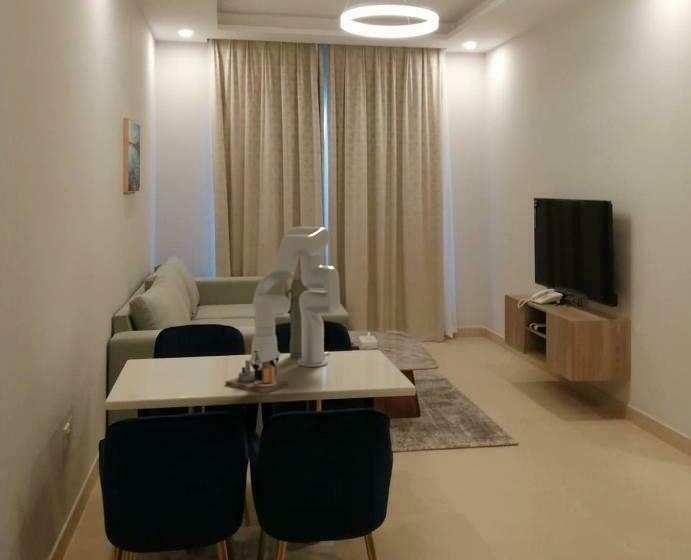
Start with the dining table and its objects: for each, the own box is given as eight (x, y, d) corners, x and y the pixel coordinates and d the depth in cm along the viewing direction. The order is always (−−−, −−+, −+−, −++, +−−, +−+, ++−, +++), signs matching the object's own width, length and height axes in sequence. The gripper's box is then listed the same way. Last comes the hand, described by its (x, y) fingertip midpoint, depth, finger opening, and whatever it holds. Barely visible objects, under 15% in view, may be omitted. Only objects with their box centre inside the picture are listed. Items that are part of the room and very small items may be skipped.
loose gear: (265, 376, 262) (264, 363, 262) (279, 379, 258) (279, 366, 258) (251, 380, 256) (251, 367, 256) (266, 383, 252) (266, 370, 252)
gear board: (225, 384, 261) (225, 361, 260) (249, 377, 271) (249, 355, 270) (264, 393, 249) (264, 369, 248) (288, 386, 260) (287, 362, 259)
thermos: (315, 357, 307) (315, 279, 303) (290, 360, 302) (289, 280, 298) (309, 353, 315) (308, 277, 311) (284, 355, 310) (283, 278, 306)
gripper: (273, 326, 264) (273, 371, 266) (241, 333, 250) (241, 381, 252) (288, 328, 260) (288, 374, 262) (256, 335, 246) (256, 384, 248)
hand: (265, 377), depth 257 cm, fingers closed on loose gear, 7 cm apart
